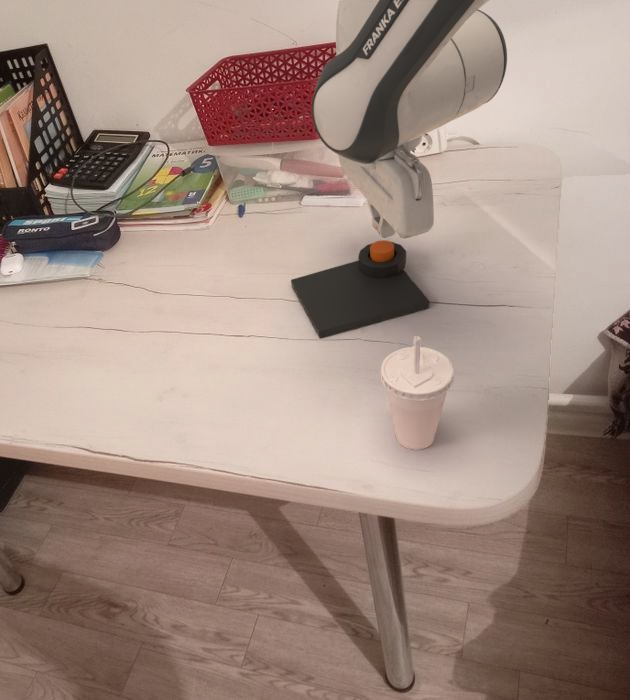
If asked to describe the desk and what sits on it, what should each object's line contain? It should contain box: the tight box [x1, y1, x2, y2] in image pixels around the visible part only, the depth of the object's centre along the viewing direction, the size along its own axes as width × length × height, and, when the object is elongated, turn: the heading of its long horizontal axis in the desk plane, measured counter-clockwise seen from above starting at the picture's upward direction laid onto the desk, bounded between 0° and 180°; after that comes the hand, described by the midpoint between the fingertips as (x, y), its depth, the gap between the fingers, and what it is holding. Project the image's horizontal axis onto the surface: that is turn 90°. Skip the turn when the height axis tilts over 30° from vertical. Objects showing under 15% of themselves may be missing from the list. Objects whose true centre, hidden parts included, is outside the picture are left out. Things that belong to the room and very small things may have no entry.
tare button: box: [370, 239, 394, 262], centre depth 82 cm, size 3×3×2 cm
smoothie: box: [380, 335, 455, 451], centre depth 59 cm, size 6×6×14 cm
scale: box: [290, 241, 430, 339], centre depth 81 cm, size 15×12×3 cm
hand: (383, 231), depth 80 cm, fingers closed
